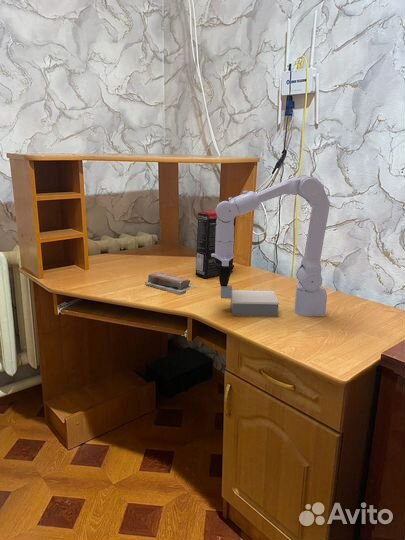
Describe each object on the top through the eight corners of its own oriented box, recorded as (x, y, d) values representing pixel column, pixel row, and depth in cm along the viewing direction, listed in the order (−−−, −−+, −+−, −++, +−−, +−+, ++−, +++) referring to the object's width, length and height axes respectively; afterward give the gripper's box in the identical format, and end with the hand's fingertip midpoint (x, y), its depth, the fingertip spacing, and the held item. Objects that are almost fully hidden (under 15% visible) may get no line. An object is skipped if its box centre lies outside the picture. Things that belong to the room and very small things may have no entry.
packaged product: (143, 274, 161) (161, 269, 169) (143, 286, 163) (161, 280, 170) (179, 283, 151) (196, 277, 159) (179, 296, 152) (196, 289, 160)
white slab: (272, 294, 142) (273, 282, 140) (278, 306, 131) (279, 293, 129) (219, 293, 141) (220, 281, 140) (221, 305, 130) (221, 292, 129)
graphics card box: (222, 269, 188) (224, 208, 180) (234, 272, 183) (237, 209, 176) (195, 276, 176) (196, 211, 169) (206, 279, 171) (208, 213, 164)
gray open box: (271, 306, 142) (272, 292, 141) (277, 319, 132) (278, 304, 131) (230, 305, 142) (230, 291, 141) (232, 318, 132) (233, 303, 130)
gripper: (211, 235, 137) (210, 275, 141) (212, 245, 123) (211, 289, 127) (232, 236, 137) (231, 276, 141) (236, 245, 123) (234, 289, 127)
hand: (223, 282), depth 134 cm, fingers open, 7 cm apart
